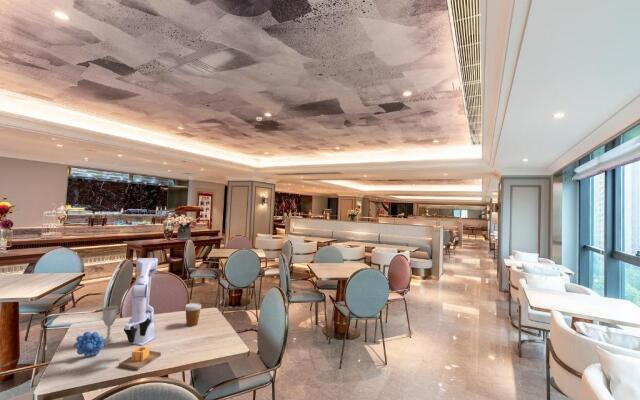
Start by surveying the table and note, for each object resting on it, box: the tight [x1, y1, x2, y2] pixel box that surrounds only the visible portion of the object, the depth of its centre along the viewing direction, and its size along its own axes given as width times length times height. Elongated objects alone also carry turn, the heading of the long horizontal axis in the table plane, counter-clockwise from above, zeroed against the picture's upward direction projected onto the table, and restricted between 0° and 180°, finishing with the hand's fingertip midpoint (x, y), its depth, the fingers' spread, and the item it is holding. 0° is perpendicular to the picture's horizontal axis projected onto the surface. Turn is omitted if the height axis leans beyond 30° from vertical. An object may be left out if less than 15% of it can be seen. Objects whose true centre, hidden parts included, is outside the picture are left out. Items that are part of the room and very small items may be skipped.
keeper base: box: [118, 349, 162, 371], centre depth 140 cm, size 14×10×5 cm
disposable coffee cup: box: [184, 302, 202, 327], centre depth 184 cm, size 10×10×12 cm
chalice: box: [101, 305, 119, 346], centre depth 156 cm, size 7×7×18 cm
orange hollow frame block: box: [131, 345, 151, 361], centre depth 140 cm, size 5×5×4 cm
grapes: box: [73, 331, 105, 358], centre depth 141 cm, size 12×7×12 cm, turn 126°
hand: (137, 339), depth 142 cm, fingers open, 7 cm apart
